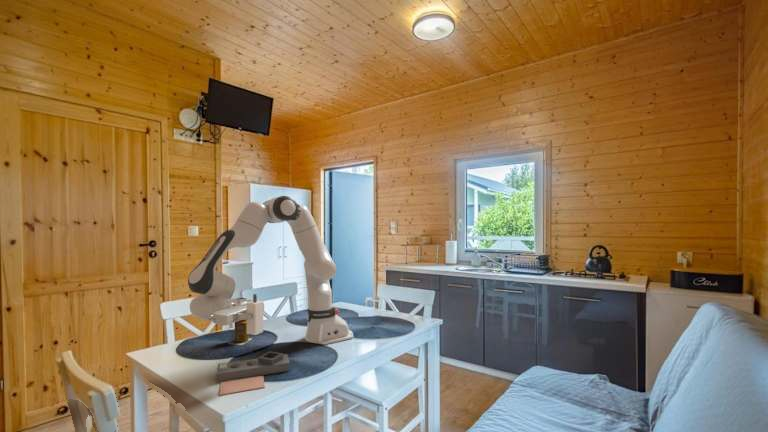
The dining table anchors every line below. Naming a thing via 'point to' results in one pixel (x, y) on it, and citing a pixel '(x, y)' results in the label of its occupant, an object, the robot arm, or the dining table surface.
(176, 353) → the dining table surface
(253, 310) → the block
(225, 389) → the mat
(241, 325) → the condiment
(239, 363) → the power strip
